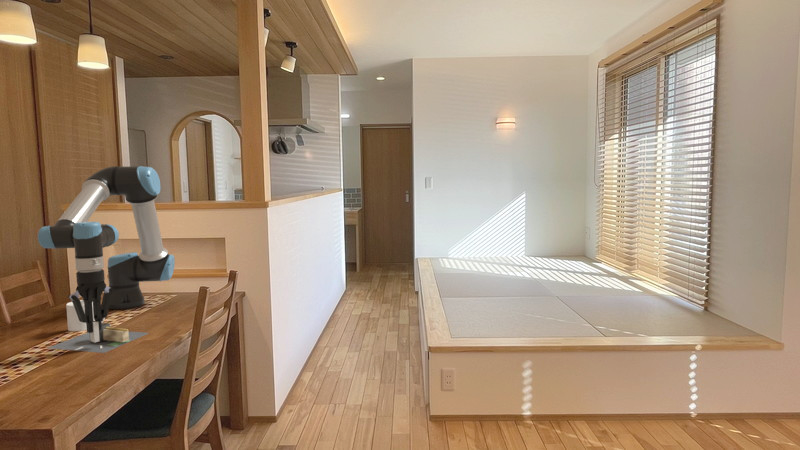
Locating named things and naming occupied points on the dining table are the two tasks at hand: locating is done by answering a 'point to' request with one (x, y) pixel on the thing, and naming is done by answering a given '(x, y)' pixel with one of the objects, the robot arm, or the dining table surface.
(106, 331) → the dial lever
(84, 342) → the gauge board
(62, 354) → the dining table surface
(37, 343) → the dining table surface
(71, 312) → the mug
